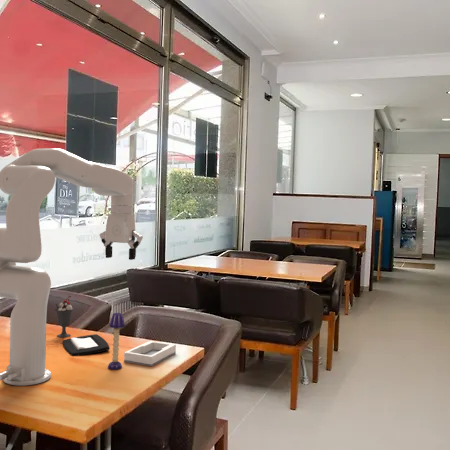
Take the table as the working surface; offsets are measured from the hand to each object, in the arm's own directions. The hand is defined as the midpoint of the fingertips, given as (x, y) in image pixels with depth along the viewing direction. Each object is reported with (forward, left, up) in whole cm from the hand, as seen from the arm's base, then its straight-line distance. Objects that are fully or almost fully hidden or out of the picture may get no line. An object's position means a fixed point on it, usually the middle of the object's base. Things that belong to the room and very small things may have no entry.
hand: (120, 258), depth 185 cm
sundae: (-1, +23, -31) cm, 38 cm away
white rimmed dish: (-9, -19, -31) cm, 37 cm away
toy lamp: (-23, -15, -31) cm, 41 cm away
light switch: (-9, +7, -31) cm, 33 cm away
